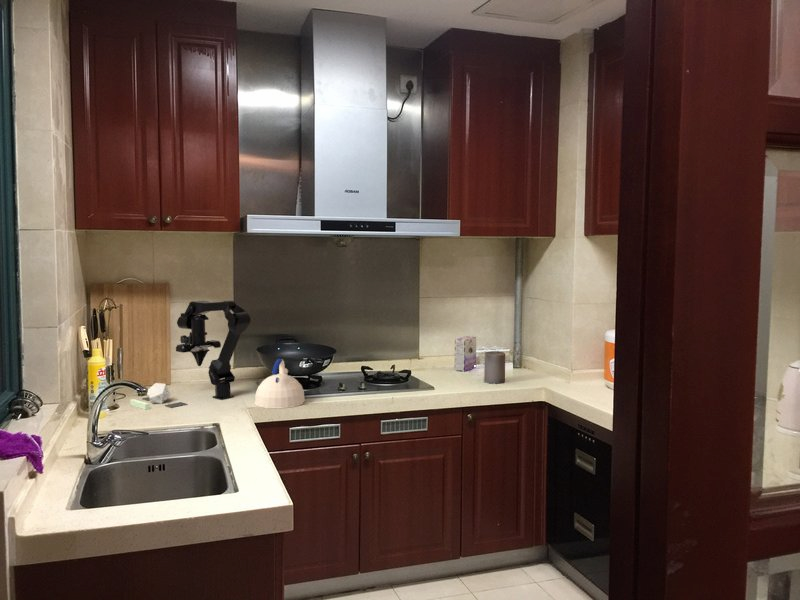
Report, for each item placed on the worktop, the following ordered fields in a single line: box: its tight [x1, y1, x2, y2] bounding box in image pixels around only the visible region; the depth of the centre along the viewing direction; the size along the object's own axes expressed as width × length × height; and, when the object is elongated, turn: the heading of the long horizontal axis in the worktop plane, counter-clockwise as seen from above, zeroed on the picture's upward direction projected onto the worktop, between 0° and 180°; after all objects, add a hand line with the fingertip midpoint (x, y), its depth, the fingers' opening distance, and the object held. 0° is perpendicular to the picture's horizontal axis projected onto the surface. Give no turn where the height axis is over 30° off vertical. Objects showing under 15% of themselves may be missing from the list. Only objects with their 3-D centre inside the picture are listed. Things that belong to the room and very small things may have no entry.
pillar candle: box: [483, 350, 506, 385], centre depth 301 cm, size 10×10×15 cm
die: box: [146, 382, 171, 405], centre depth 262 cm, size 8×9×10 cm
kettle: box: [254, 358, 306, 410], centre depth 262 cm, size 20×21×18 cm
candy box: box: [454, 335, 477, 373], centre depth 332 cm, size 14×6×16 cm, turn 147°
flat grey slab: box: [129, 396, 188, 410], centre depth 261 cm, size 23×15×2 cm, turn 50°
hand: (199, 366), depth 278 cm, fingers closed
